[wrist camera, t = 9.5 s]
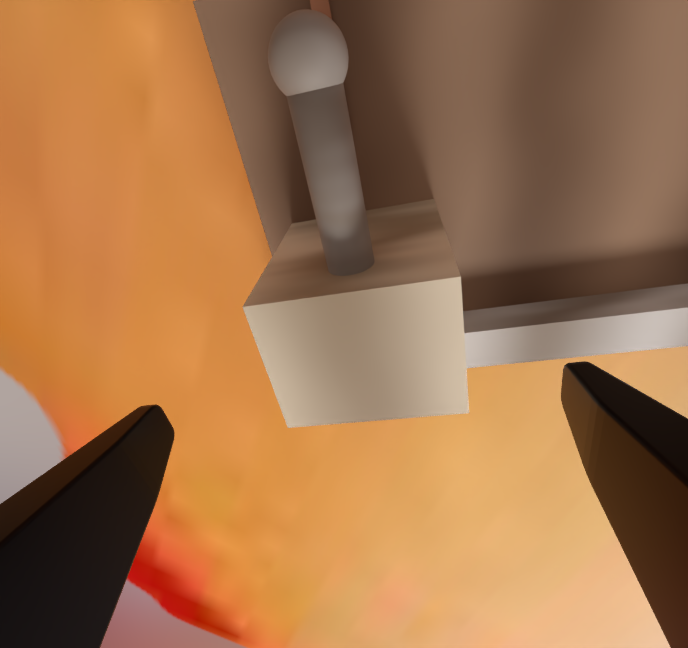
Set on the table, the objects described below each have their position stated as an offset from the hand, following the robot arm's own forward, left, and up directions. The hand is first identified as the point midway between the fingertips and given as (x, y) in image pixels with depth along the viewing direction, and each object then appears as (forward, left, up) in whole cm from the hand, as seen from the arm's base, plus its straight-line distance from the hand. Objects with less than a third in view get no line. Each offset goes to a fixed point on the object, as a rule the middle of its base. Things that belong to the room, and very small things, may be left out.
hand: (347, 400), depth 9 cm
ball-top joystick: (0, -3, -7) cm, 8 cm away
